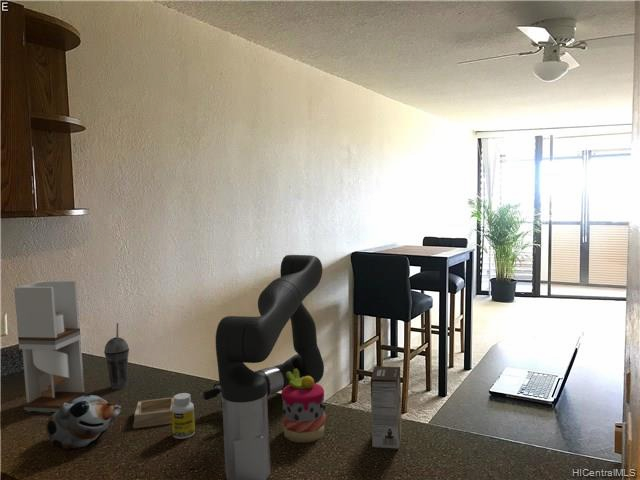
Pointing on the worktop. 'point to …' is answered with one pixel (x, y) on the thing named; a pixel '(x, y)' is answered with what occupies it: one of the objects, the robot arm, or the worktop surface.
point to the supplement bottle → (182, 416)
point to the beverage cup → (117, 361)
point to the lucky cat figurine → (81, 421)
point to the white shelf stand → (50, 343)
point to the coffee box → (386, 407)
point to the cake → (303, 409)
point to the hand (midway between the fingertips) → (212, 400)
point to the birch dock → (153, 412)
